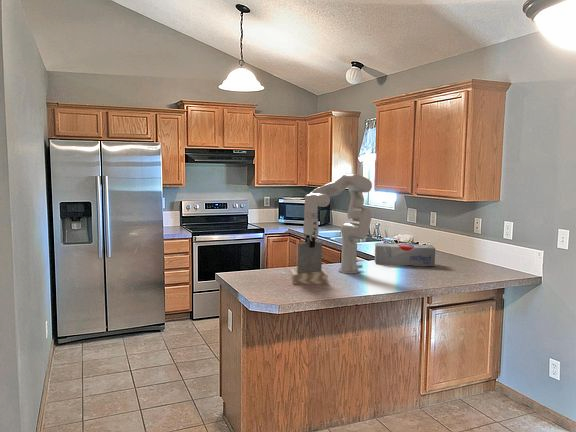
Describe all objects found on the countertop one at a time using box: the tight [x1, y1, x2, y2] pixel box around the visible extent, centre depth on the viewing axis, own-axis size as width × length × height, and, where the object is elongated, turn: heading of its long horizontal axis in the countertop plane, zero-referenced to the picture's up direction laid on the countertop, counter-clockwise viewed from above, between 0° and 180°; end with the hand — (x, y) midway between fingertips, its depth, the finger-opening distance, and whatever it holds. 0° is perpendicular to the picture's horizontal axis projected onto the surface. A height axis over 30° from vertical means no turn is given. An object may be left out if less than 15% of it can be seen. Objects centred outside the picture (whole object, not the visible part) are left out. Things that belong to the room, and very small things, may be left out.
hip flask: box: [296, 238, 323, 273], centre depth 277 cm, size 16×4×20 cm, turn 117°
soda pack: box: [374, 242, 436, 267], centre depth 333 cm, size 41×13×14 cm, turn 83°
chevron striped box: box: [290, 268, 329, 285], centre depth 278 cm, size 20×14×6 cm
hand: (309, 246), depth 276 cm, fingers open, 4 cm apart
